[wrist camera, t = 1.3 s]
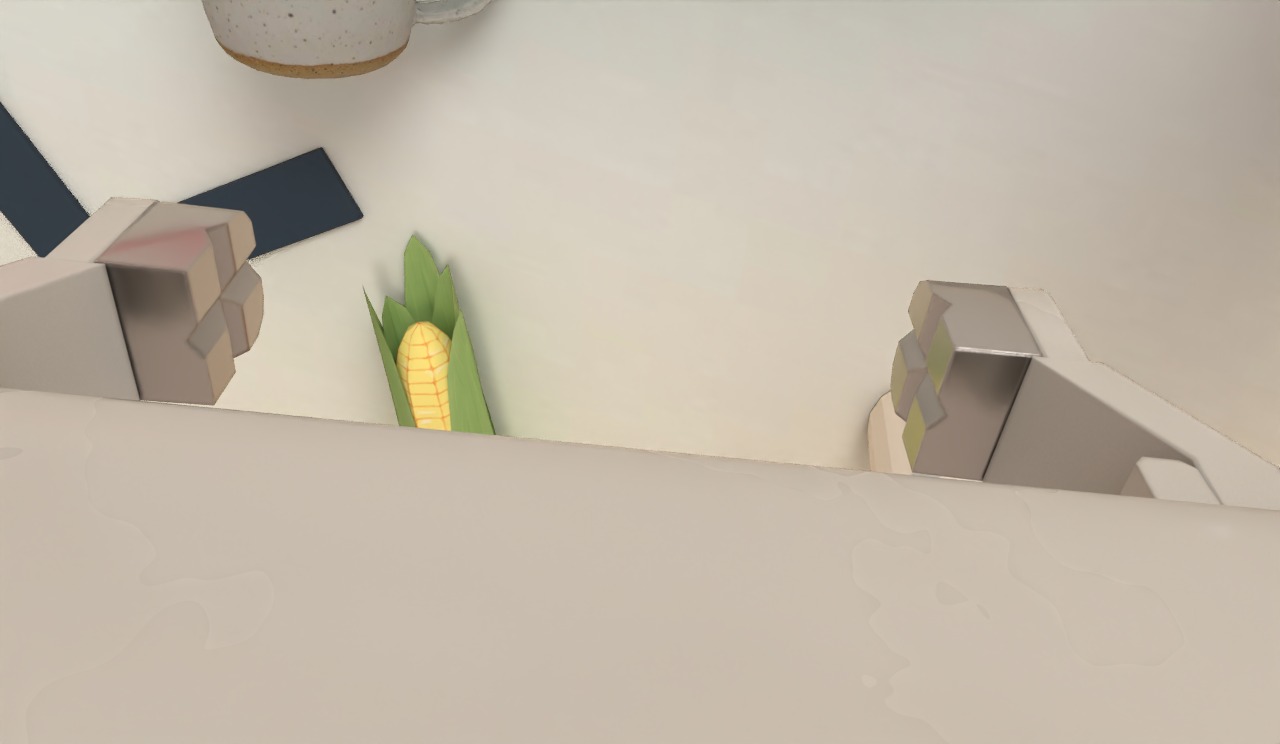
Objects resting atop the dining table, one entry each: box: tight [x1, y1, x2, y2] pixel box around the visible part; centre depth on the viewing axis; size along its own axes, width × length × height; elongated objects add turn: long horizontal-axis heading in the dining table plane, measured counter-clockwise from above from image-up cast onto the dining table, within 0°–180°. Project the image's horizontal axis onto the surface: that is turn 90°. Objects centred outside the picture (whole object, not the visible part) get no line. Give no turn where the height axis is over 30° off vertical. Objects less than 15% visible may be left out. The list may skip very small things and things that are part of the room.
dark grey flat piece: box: [0, 103, 363, 260], centre depth 40 cm, size 16×22×1 cm
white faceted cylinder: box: [867, 391, 982, 482], centre depth 47 cm, size 7×7×7 cm
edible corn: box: [363, 235, 496, 435], centre depth 48 cm, size 5×20×5 cm, turn 5°
